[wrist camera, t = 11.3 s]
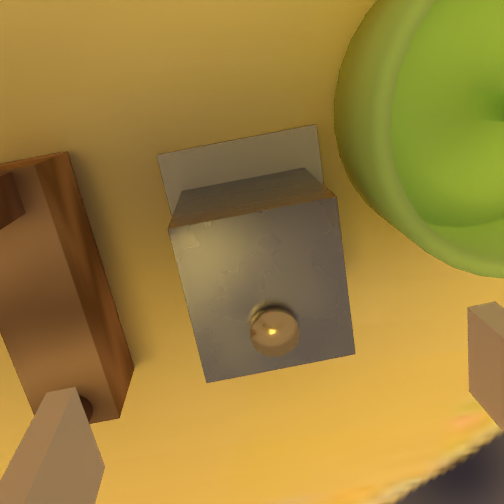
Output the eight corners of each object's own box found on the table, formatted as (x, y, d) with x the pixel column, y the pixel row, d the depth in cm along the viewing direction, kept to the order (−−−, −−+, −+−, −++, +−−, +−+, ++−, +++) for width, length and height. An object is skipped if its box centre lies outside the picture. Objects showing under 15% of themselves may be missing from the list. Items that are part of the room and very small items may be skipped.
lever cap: (181, 191, 24) (166, 233, 17) (304, 167, 24) (340, 200, 17) (209, 310, 27) (206, 391, 20) (321, 288, 27) (359, 361, 20)
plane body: (-11, 166, 24) (-109, 199, 17) (66, 151, 24) (2, 177, 17) (68, 381, 28) (18, 479, 21) (134, 368, 28) (106, 462, 21)
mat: (157, 154, 24) (156, 155, 24) (314, 124, 24) (316, 125, 24) (203, 339, 28) (202, 343, 27) (339, 313, 28) (340, 316, 27)
